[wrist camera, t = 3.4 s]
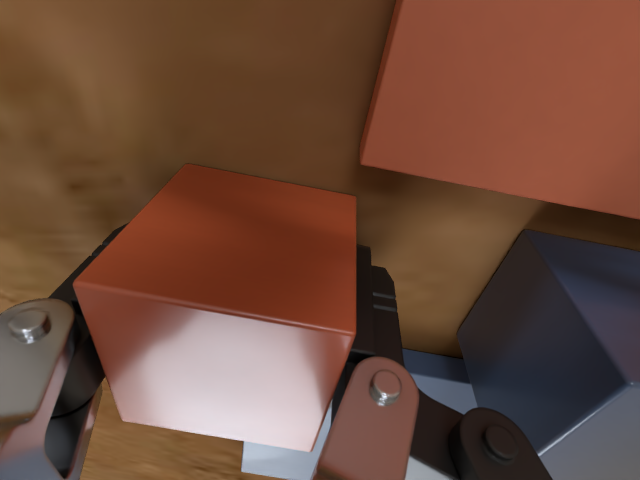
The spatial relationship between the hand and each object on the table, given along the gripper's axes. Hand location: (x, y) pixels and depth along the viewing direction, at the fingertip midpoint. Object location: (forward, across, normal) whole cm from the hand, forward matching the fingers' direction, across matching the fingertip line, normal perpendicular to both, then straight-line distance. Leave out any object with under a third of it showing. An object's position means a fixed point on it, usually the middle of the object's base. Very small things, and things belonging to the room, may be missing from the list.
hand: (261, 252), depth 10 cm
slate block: (0, -9, 0) cm, 9 cm away
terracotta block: (0, 0, 0) cm, 0 cm away
